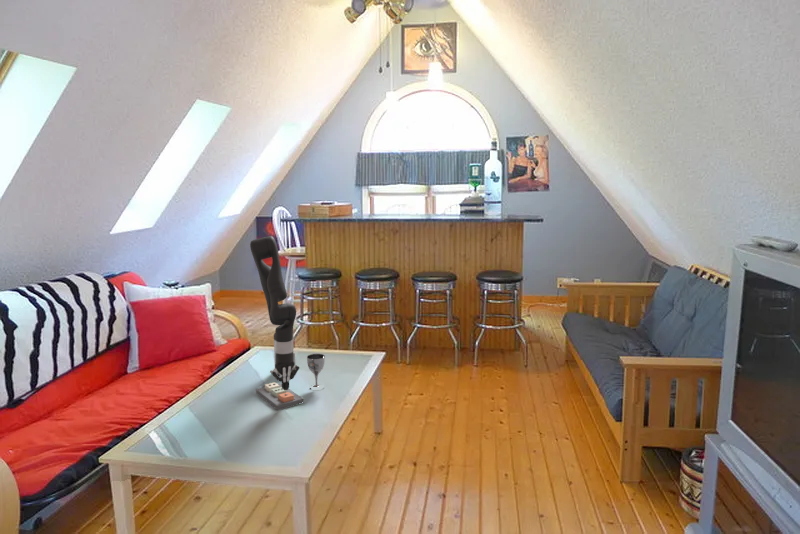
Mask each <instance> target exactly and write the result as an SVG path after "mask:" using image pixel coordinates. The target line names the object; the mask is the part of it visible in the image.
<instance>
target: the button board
mask: <svg viewBox="0 0 800 534" xmlns="http://www.w3.org/2000/svg"><path fill="white" fill-rule="evenodd" d="M277 384H278V385H279V386H280V387H282V382H280V383H277ZM287 392H290V393H291V394H293V395H294V400H292V401H288V402H284V403H283V402H282V401H280V400H279V397H275V396H273V395H272V392H268V391H267V390H265V386H263V387H259V388H256V389H255V394H256V395H257V396H258V397H260V398H261V399H263V401H265V402H266V403H268V404H269V405H270V406H272V407H273V408H274V409H275V410H277V411H279V410H283V409H286V408H290V406H291V407H294V406H297V405H296V404H298V405H300V404H299V403H302V402H303V403H304V398H303V397H302V396H300V395H299V394H297V393H296V392H295V391H293V390H291V389H290V387H289V388H288V390H287ZM303 403H302V404H303ZM293 405H294V406H293Z"/></svg>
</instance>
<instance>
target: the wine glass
mask: <svg viewBox="0 0 800 534" xmlns="http://www.w3.org/2000/svg"><path fill="white" fill-rule="evenodd" d="M325 360H326V356H325V355H324V354H322V353H312V354H308V355H307V356H306V363H307V367H308V370H309V371H310V372H311V373H312V374H313V376H314V379H315V384H313V385H314V386H313V387H319V385H320V384H318V377H319V375H320V373H321V372H322V370H323V369H324V367H325V362H326V361H325Z"/></svg>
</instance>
